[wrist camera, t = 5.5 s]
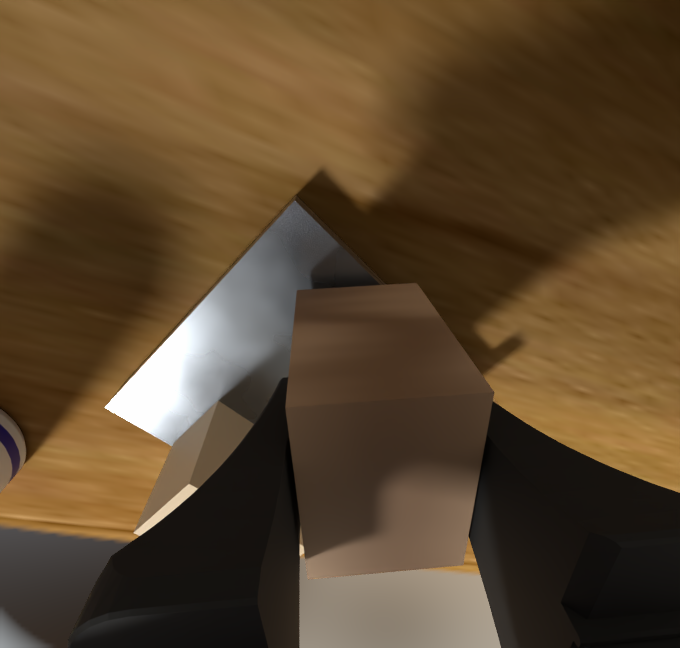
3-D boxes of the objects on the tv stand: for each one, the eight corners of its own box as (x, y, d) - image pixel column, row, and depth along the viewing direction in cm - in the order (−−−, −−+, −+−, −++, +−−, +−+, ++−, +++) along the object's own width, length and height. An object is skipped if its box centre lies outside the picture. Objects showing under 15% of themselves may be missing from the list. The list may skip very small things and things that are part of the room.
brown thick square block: (309, 423, 15) (308, 583, 10) (296, 290, 12) (285, 407, 7) (409, 416, 15) (462, 569, 10) (416, 282, 13) (494, 392, 7)
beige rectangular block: (173, 442, 16) (133, 532, 12) (218, 400, 15) (188, 483, 11) (269, 498, 18) (258, 590, 14) (313, 463, 17) (313, 551, 13)
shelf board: (118, 389, 16) (88, 429, 14) (296, 194, 13) (293, 206, 11) (309, 504, 20) (309, 549, 18) (479, 376, 17) (503, 412, 15)
